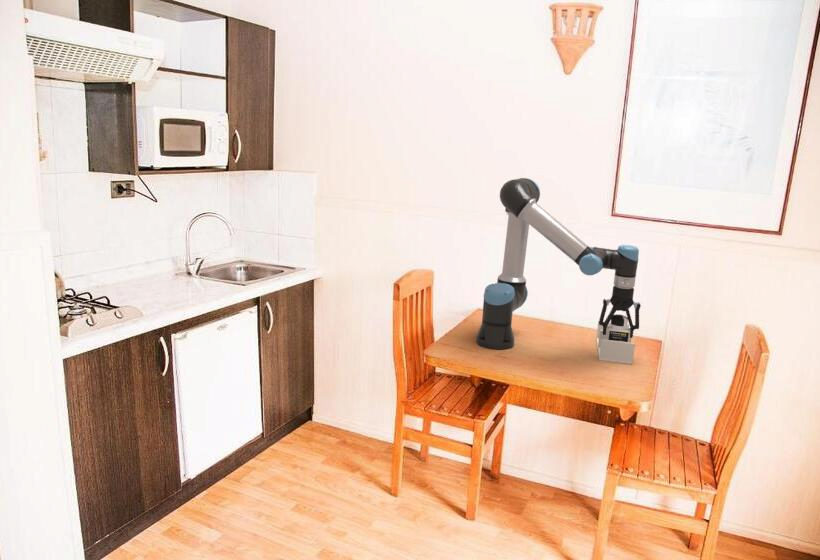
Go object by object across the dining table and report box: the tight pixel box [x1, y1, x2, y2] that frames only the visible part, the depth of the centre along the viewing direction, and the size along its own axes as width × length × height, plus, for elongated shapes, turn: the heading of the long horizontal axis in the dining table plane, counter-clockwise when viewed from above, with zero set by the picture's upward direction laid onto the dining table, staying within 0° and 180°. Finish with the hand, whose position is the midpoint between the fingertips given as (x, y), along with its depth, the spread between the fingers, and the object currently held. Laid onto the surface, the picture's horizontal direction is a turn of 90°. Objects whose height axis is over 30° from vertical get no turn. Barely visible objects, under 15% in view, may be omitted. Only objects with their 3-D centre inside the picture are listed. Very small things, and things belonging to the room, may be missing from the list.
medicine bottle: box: [607, 313, 629, 342], centre depth 238 cm, size 7×7×12 cm
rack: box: [595, 320, 636, 365], centre depth 245 cm, size 12×25×8 cm, turn 166°
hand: (616, 344), depth 239 cm, fingers closed on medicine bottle, 7 cm apart
